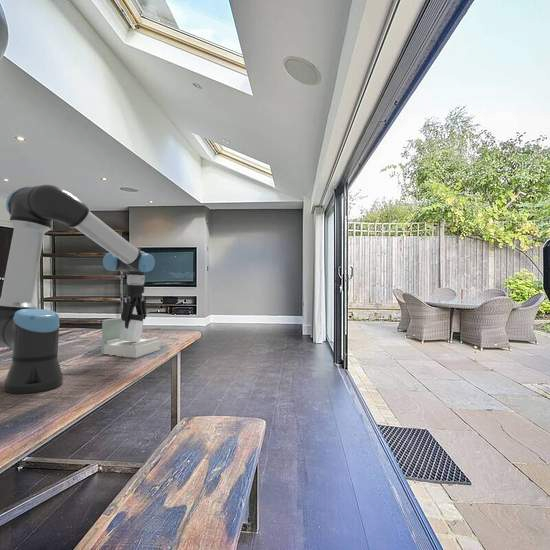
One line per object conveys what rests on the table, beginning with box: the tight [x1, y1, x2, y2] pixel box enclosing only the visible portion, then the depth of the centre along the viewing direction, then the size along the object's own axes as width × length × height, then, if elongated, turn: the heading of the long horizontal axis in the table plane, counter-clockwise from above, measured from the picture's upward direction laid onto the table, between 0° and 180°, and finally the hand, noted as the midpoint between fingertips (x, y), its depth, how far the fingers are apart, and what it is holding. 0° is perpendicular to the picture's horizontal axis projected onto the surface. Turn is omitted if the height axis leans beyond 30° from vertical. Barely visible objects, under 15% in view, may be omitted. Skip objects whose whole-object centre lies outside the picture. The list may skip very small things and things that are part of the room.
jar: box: [119, 313, 144, 342], centre depth 158 cm, size 9×8×12 cm
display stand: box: [100, 316, 161, 359], centre depth 159 cm, size 18×18×15 cm
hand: (133, 334), depth 159 cm, fingers closed on jar, 7 cm apart
